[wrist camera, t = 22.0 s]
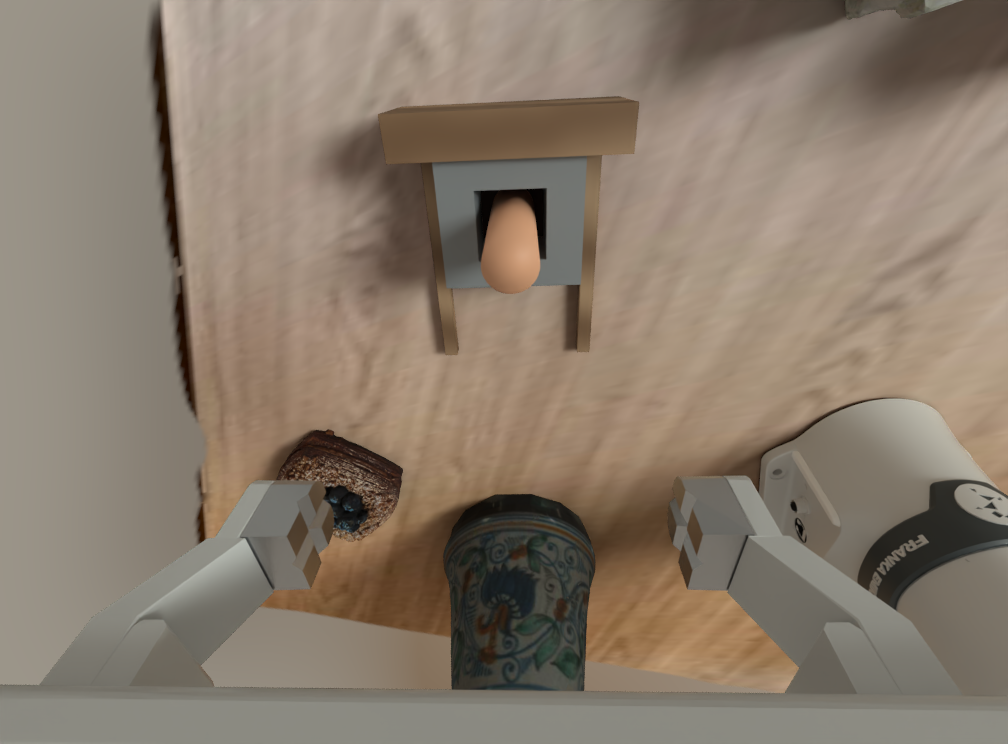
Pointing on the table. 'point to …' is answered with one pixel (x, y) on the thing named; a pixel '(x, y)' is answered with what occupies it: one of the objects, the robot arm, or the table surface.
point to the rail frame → (512, 136)
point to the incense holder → (894, 7)
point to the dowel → (511, 243)
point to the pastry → (347, 481)
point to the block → (468, 178)
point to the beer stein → (519, 595)
